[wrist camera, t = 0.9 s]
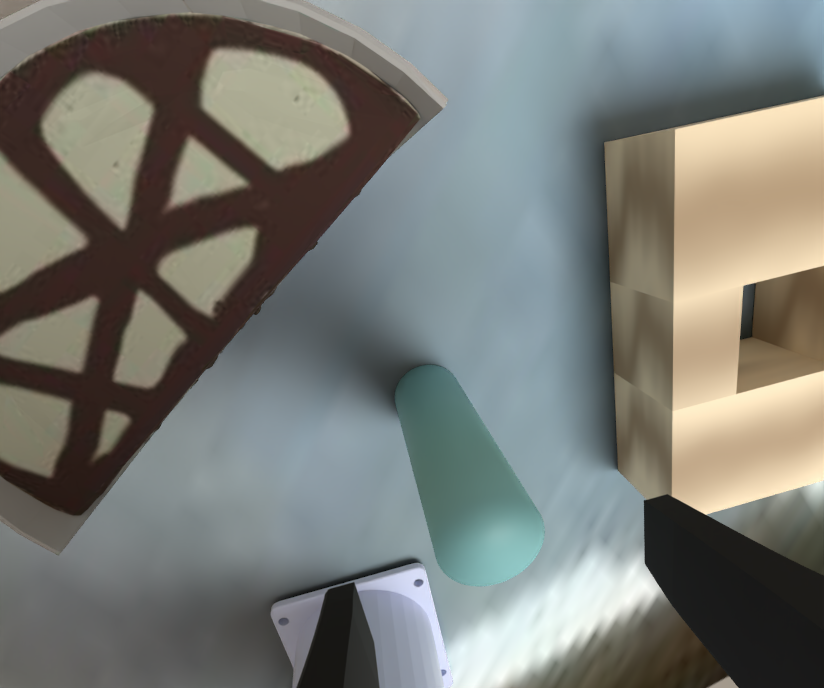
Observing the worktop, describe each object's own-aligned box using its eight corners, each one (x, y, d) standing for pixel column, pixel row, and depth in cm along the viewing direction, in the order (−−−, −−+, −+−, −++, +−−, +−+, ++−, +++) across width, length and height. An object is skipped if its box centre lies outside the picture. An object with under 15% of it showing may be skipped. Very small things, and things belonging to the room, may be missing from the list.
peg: (464, 415, 21) (549, 568, 12) (402, 432, 21) (445, 598, 12) (453, 357, 20) (538, 481, 11) (388, 374, 20) (425, 512, 11)
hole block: (790, 423, 24) (873, 465, 20) (618, 470, 23) (671, 524, 20) (829, 94, 18) (953, 69, 15) (604, 142, 18) (675, 129, 14)
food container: (258, -1, 15) (114, -346, 5) (396, 142, 17) (470, 78, 7) (46, 279, 16) (-350, 398, 7) (194, 378, 18) (43, 573, 9)
